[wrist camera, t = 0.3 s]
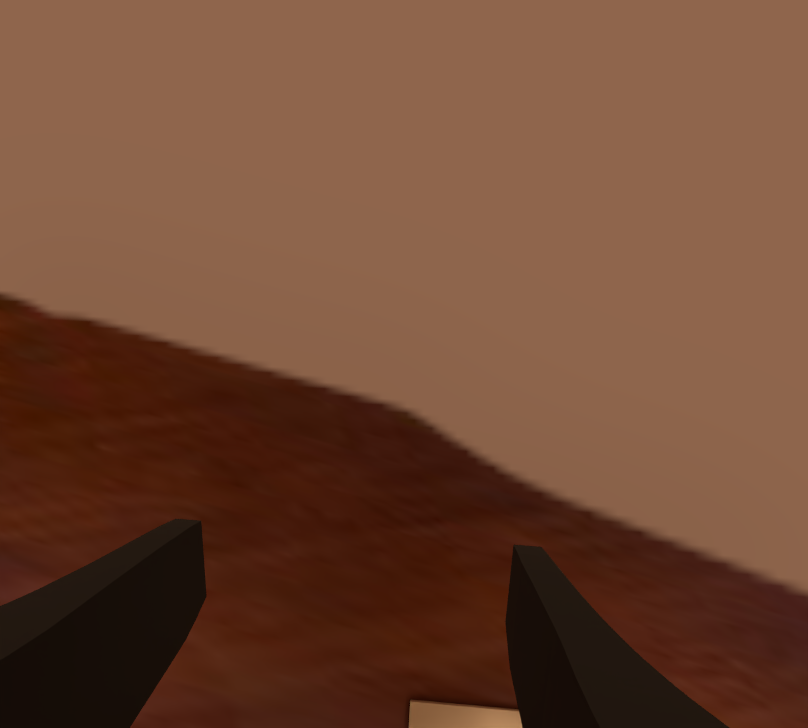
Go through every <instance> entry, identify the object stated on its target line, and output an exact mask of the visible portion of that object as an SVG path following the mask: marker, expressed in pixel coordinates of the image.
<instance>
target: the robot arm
mask: <svg viewBox="0 0 808 728" xmlns="http://www.w3.org/2000/svg"><path fill="white" fill-rule="evenodd" d="M205 598H206V584H205V569H204V555H203V541H202V526H201V521H197V520H184V519H175V520H172V521H170V522H168V523H166V524H163V525H161V526H159V527H157V528H155V529H154V530H152V531H150V532H148V533H146V534H144V535H142V536H140V537H139V538H137V539H135V540H133V541H131V542H129V543H127V544H126V545H124V546H122V547H120V548H118V549H116V550H114V551H113V552H111V553H109V554H107V555H105V556H103V557H101V558H100V559H98V560H96V561H94V562H92V563H90V564H88V565H86V566H84V567H82V568H80V569H78V570H76V571H74V572H72V573H70V574H68V575H66V576H64V577H62V578H60V579H58V580H56V581H54V582H52V583H50V584H48V585H46V586H44V587H42V588H40V589H38V590H36V591H34V592H31V593H29V594H27V595H25V596H23V597H20V598H18V599H16V600H14V601H11V602H9V603H7V604H4V605H2V606H0V728H130V726H131V725H132V723H133V722H134V720H135V719H136V717H137V715H138V714H139V712H140V711H141V709H142V708H143V706H144V705H145V703H146V701H147V700H148V698H149V697H150V695H151V694H152V692H153V691H154V689H155V687H156V686H157V684H158V683H159V681H160V680H161V678H162V677H163V675H164V673H165V672H166V670H167V669H168V667H169V666H170V664H171V662H172V661H173V659H174V658H175V656H176V654H177V653H178V651H179V650H180V648H181V646H182V645H183V643H184V642H185V640H186V638H187V636H188V634H189V632H190V630H191V628H192V626H193V624H194V622H195V620H196V618H197V616H198V614H199V611H200V609H201V607H202V605H203V603H204V600H205ZM506 632H507V643H508V653H509V662H510V670H511V675H512V680H513V685H514V690H515V694H516V699H517V704H518V709H519V713H520V718H521V723H522V727H523V728H729V727H728V726H726V725H725V724H724V723H722V722H721V721H720V720H718V719H717V718H716V717H714V716H713V715H712V714H710V713H709V712H708V711H706V710H705V709H704V708H702V707H701V706H700V705H698V704H697V703H696V702H694V701H693V700H692V699H690V698H689V697H688V696H687V695H685V694H684V693H683V692H682V691H680V690H679V689H678V688H677V687H675V686H674V685H673V684H672V683H671V682H669V681H668V680H667V679H666V678H665V677H664V676H663V675H661V674H660V673H659V672H658V671H657V670H656V669H654V668H653V667H652V666H651V665H650V664H649V663H648V662H646V661H645V660H644V659H643V658H642V657H641V656H640V655H639V654H638V653H636V652H635V651H634V650H633V649H632V648H631V647H630V646H629V645H628V644H627V643H626V642H625V641H624V640H623V639H622V638H621V637H620V636H619V635H618V634H617V633H616V632H615V631H614V630H613V629H612V628H611V627H610V626H609V625H608V624H607V623H606V622H605V621H604V620H603V619H602V618H601V617H600V616H599V614H598V613H597V612H596V611H595V610H594V609H593V608H592V607H591V606H590V604H589V603H588V602H587V601H586V600H585V599H584V598H583V597H582V595H581V594H580V593H579V592H578V591H577V590H576V588H575V587H574V586H573V585H572V584H571V582H570V581H569V580H568V579H567V578H566V576H565V575H564V574H563V573H562V571H561V570H560V569H559V568H558V567H557V565H556V564H555V563H554V562H553V560H552V559H551V558H550V557H549V555H548V554H547V553H546V552H545V551H544V550H543V548H542V547H535V546H522V545H514V546H513V556H512V565H511V575H510V585H509V594H508V604H507V614H506Z"/></svg>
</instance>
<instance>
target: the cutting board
mask: <svg viewBox="0 0 808 728" xmlns="http://www.w3.org/2000/svg"><path fill="white" fill-rule="evenodd" d="M409 728H523V727H522V723H521V718H520V713H519V709H509V708H498V707H487V706H476V705H465V704H454V703H443V702H432V701H421V700H410V714H409Z"/></svg>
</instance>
